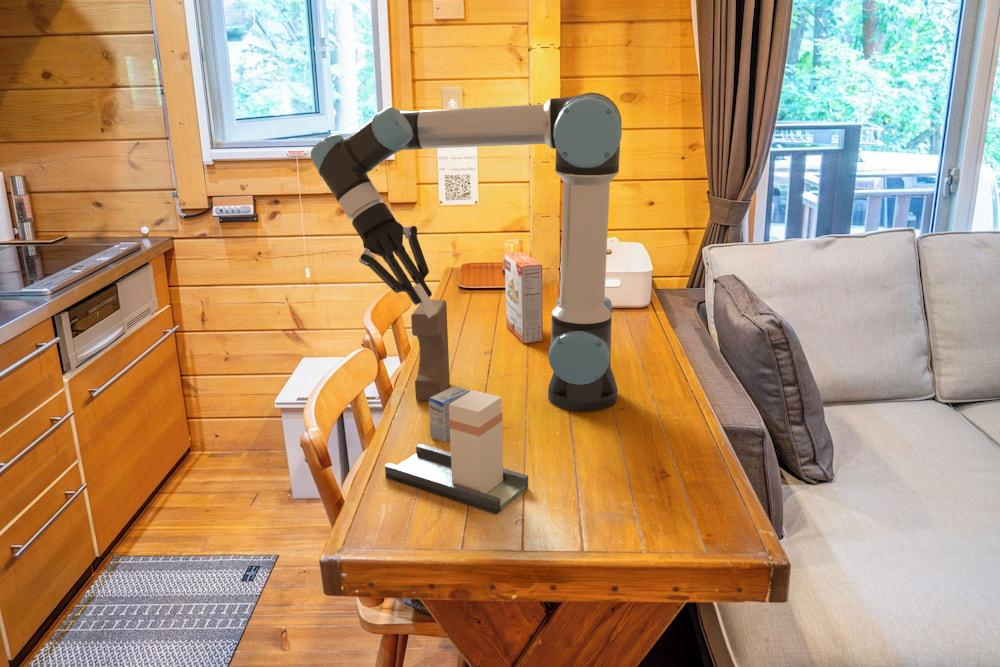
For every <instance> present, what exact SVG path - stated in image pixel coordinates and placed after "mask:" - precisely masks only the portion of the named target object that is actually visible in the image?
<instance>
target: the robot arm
mask: <svg viewBox="0 0 1000 667" xmlns="http://www.w3.org/2000/svg"><path fill="white" fill-rule="evenodd" d="M622 129H623V128H622V116H621V112H620V110H619V108H618V106H617V105H616V104H615V102H614V101H613V100H612V99H610V98H609V97H608V96H605V95H604V94H601V93H598V92H585V93H581V94H577V95H571V96H566V97H558V98H557V97H555V98H549V99H548V100H547V101H546V102H545V103H544V104H543V103H541V104H524V105H506V106H488V107H485V106H483V107H467V108H450V109H449V108H448V109H431V110H429V109H428V110H427V109H426V110H418V111H417V110H412V111H409V110H407V111H406V110H399V109H397V108H396V107H393V106H388V107H385V108H384V109H382V110H381V111H380V112H378V113H375V114H374V115H373V117H372V118H371V119H369V120H368V121H367V122H365V123H364V124H363V125H362V126H360V127H359V128H358V129H356V130H355V131H354V132H353V133H351V134H350V135H349V136H347V137H346V138H344V137H343V136H342V135H341V134H337V133H335V134H331V135H328V136H326V137H325V138H324V139H321V140H320V141H319V142H318V143H316V144H315V145H314V146H313V147H312V149H311V151H310V153H309V154H310V159H311V161H312V162H313V164H314V167H315V168H316V169H317V173H318V174H319V176H320V177H321V178H322V180H323V181H324V183H325V184H326V185H327V187H328V189H329V191H330V192H331V194H332V195H333V196H334V197H335V199H336V201H337V202H338V205H339V206H340V207H341V209H342V210H343V212H344V214H345V215H346V217H347V218H348V220H352V222H351V224H352V226H353V228H354V229H355V231H356V233H357V234H358V235H359V237H360V238H361V239H360V240H362V243H363V245H362V247H363V248H364V250H363V252H362V254H361V256H360V257H359V258H358V259H359V263H360V264H362V265H364V266H366V267H369V269H371V271H373V272H374V273H375V274H376V275H377V276H378V277H379V278H380V279H381V280H382V282H384V283H385V284H386V285H387V286H388V287H389V288H390V289H391V290H392V291H393V292H394V293H396V294H398V293H402V292H404V293H406V294H407V296H408V297H409V299H410V300H411V302H412V303H413V305H415V306H418V305H421V307H422V309H423V310H424V312H425V313H426V315H427V316H428V318H430V317H432V316H433V315H435V314H436V313H437V312H438V311H437V309H436V307H435V306H434V304H433V303H432V301H431V300H432V299H431V298H430V297H431V296H433V295H432V293H433V292H432V291H431V290H430V287H429V286H428V284H427V283H426V281H425V279H426V277H427V276H428V275H429V272H430V270H429V267H428V264H427V262H426V259H425V255H424V253H423V251H422V248H421V244H420V242H419V239H418V228H417V226H415V225H412V226H411V227H409V226H408V227H407V226H403V225H402V224H401V223H400V222H399V221H398V220H396V218H395V217H394V215H393V213H392V211H391V210H390V209H389V207H388V205H387V204H386V203H385V202H382V201H383V197H382V196H381V194H380V192H379V191H378V190H377V188H376V187H375V185H374V184H373V182H372V180H371V178H370V177H369V176H368V173H369V172H371V171H373V170H374V169H375V168H376V167H377V166H379V165H381V164H382V163H383V162H385V161H386V160H387V159H388V158H390V157H391V156H393V155H395V154H397V153H399V152H401V151H409V150H425V149H446V148H447V149H448V148H471V147H472V148H474V147H477V148H478V147H497V146H524V145H527V146H528V145H546V146H548V147H549V148H550V149H552V150H554V149H555V169H554V172H555V173H556V174H557V176H559V177H560V179H561V180H562V182H563V183H562V210H561V212H562V215H561V216H562V217H561V218H562V219H561V245H560V246H561V247H560V248H561V249H560V250H561V251H560V255H561V257H560V288H559V293H560V294H559V298H558V299H557V300H556V306H555V307H554V308H553V309H552V310H551V329H550V331H551V332H550V345H549V348H548V352H547V355H548V357H547V358H548V361H549V362H548V363H549V365H550V368H551V370H552V371H553V372H552V375H551V379H550V381H549V383H548V389H547V391H548V392H547V398H548V401H549V402H550V403H552V404H553V405H554V406H556V407H558V408H561V409H565V410H570V411H576V412H594V411H600V410H604V409H607V408H610V407H611V406H613V405H614V404H616V403H617V401H618V397H619V396H618V395H619V394H618V392H619V390H618V385H617V382H616V379H615V376H614V372H613V369H612V367H611V366H612V365H611V350H612V349H611V348H612V315H613V314H612V313H613V309H612V307H613V304H612V300H611V299H610V298H608V297H606V296H605V293H606V276H607V275H606V273H607V272H606V271H607V255H608V254H607V253H608V250H607V248H608V230H609V229H608V227H609V210H610V209H609V208H610V205H609V204H610V188H611V184H610V183H611V181H612V180H613V179H614V178H615V177H616V176H617V175H618V174H619V171H620V156H621V155H620V153H621V150H620V149H621V140H622V132H623V131H622ZM404 237H405V238H406V239H407V240H408V244H409V247H410V250H411V252H412V253H411V254H412V256H413V258H414V261H415V263H416V265H415V263H414V261H413V260H412V258H411V257H410V255H409V254H408V252H407V251H406V247H405V246H404V244H403V243H404V242H403V241H404ZM373 254H375V255H376V256H378V257H382V259H383V261H384V262H385V263H386V264H387V266H388V267H389V269H390V270H391V272H392V273H393V275H394V276H393V275H392V274H391V273H390V272H389V271H388V270H387V269H386V268H385V267H384V266H383V265H382V264H381V263H380V262H379V261H378V260H376V259H375V258H374V255H373ZM395 256H396V257H397V258H398V259H399V261H400V262H401V263H402V266H403V267H404V269H405V270H406V272H407V273H408V275H409V276H410V277H411V279H412V281H413V282H414V284H415V285H414V286H413V284H412V282H411V280H410V279H409V277H408V275H407V274H406V273H405V272H404V270H403V268H402V267H401V265H400V264H399V262H398V260H397V259H396V257H395Z"/></svg>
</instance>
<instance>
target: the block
mask: <svg viewBox="0 0 1000 667" xmlns="http://www.w3.org/2000/svg"><path fill="white" fill-rule="evenodd" d="M469 391H470V392H469V393H467V394H465V395H464V396H462V397H460V398H459V399H457V400H455V401H454V402H452V403H450V404H449V428H450V441H449V443H450V453H451V468H452V483H454V484H457V485H460V486H463V487H466V488H470V489H473V490H476V491H479V492H482V493H485V494H486V493H488V492H489V491H490V490H492V489H493V488H494V487H495V486H497V485H498V484H499V483H500V482H502V481H503V468H504V458H503V456H504V454H503V451H504V450H503V449H504V448H503V408H502V407H503V406H502V404H503V402H502V396H499V395H493V394H491V393H490V394H489V393H486V392H481V391H477V390H473V389H472V390H469Z"/></svg>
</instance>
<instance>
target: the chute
mask: <svg viewBox="0 0 1000 667" xmlns="http://www.w3.org/2000/svg"><path fill="white" fill-rule="evenodd" d="M415 449H416V450H415V452H416V453H414V454H412V455H410V456H409V457H408V458H406V459H405V460H403V461H401V462H400V463H399V464H394V463H391V462H389V463H386V464H385V465H384V470H385V471H384V473H385V474H384V475H385V479H388V480H391V481H394V482H398V483H400V484H403V485H406V486H409V487H412V488H415V489H418V490H421V491H424V492H428V493H430V494H433V495H435V496H439V497H443V498H445V499H448V500H451V501H454V502H458V503H459V504H464V505H466V506H469V507H472V508H476V509H478V510H482V511H484V512H488V513H491V514H494V515H498V514H499V513H500V512H502V510H504V509H505V508H506V507H507V506H509V505H510V504H511V503H512V502H514V501H515V500H516V499H517V498H518V497H520V496H521V495H522V494H523V493H525V492H526V491H527V490H528V489H529V475H528V474H524V473H520V472H518V471H514V470H510V469H508V468H504V467H503V481H502V482H500V483H499V484H498V485H497V486H495V487H494V488H493V489H492V490H490V491H489V492H488V493H486V494H485V493H482V492H479V491H476V490H473V489H470V488H466V487H463V486H460V485H457V484H454V483H452V468H451V451H447V450H444V449H441V448H436V447H432V446H430V445H426V444H423V443H419V444H417V445H416V446H415Z"/></svg>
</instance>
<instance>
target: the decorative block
mask: <svg viewBox="0 0 1000 667" xmlns="http://www.w3.org/2000/svg"><path fill="white" fill-rule="evenodd" d="M430 300H431V301H432V303H433V304H434V306H435V307H436V309H437V311H438V312H437V313H436V314H435V315H433V316H432V317H430V318H428V316H427V315H426V313H425V312H424V310H423V309H422V307H421V305H420V304H418V305H417V307H416V309H415V310H414V311H413V312H412V314H411V315H410V317H411V318H410V319H411V333H412V335H413V336H415V337H417V340H418V348H419V361H418V369H417V374H416V377H415V379H414V390H415V391H414V392H415V400H416V401H417V402H429V398H430V397H432V396H434V395H436V394H439V393H441V392H443V391H445V390H447V388H448V386H449V384H450V383H451V382H450V379H451V378H450V360H449V359H450V358H449V354H450V353H449V336H448V332H449V330H448V312H447V310H448V309H447V308H448V307H447V301H446V300H444V299H430Z"/></svg>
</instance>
